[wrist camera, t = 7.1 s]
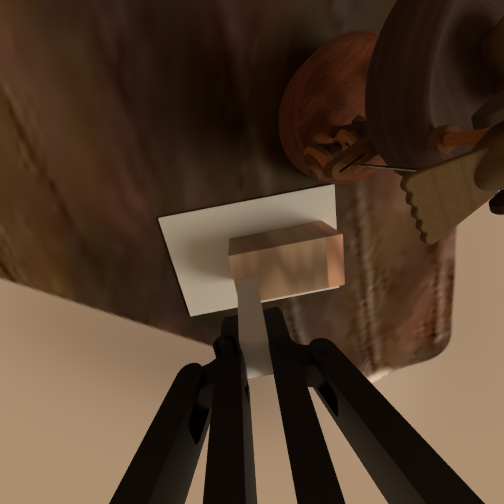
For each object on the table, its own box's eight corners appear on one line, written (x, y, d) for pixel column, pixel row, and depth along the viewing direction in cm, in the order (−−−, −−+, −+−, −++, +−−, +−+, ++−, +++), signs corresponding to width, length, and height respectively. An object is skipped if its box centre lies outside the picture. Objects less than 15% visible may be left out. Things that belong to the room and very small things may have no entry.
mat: (158, 217, 24) (158, 218, 23) (333, 183, 24) (334, 184, 23) (190, 314, 28) (190, 316, 28) (338, 286, 28) (339, 287, 28)
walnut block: (228, 256, 20) (342, 233, 20) (229, 238, 25) (322, 220, 25) (239, 304, 22) (344, 284, 22) (238, 280, 26) (325, 263, 26)
